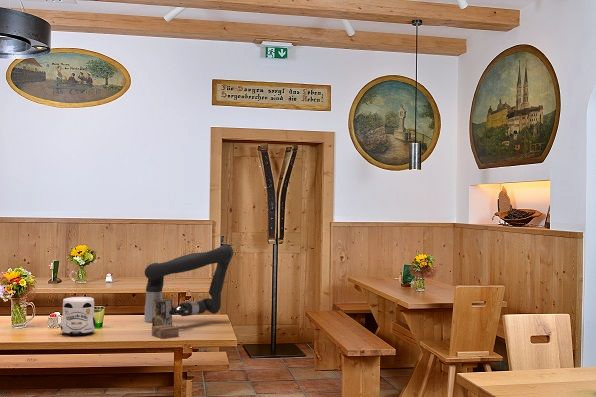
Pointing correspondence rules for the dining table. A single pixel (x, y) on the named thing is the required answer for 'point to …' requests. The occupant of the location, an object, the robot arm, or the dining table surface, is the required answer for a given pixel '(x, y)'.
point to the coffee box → (161, 312)
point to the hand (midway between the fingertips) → (165, 311)
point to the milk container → (78, 316)
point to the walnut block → (165, 331)
